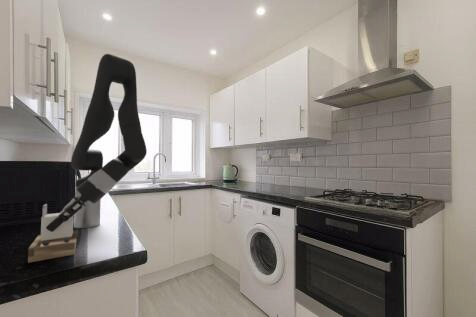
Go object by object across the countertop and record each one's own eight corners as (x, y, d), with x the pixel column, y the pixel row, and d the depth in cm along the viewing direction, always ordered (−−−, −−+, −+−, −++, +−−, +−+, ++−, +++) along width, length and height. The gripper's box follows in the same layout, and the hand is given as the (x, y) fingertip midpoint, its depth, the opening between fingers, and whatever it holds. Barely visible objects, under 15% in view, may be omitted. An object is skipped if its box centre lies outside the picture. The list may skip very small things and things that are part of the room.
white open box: (43, 241, 68) (44, 203, 69) (72, 237, 72) (73, 201, 73) (40, 246, 64) (41, 206, 64) (71, 241, 68) (72, 203, 68)
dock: (37, 247, 71) (38, 235, 71) (76, 241, 76) (76, 230, 76) (27, 262, 59) (28, 248, 59) (74, 254, 65) (74, 241, 65)
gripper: (88, 177, 79) (42, 215, 72) (88, 179, 67) (33, 225, 60) (105, 191, 82) (63, 229, 74) (108, 195, 70) (58, 241, 63)
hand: (50, 227), depth 67 cm, fingers closed on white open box, 5 cm apart
